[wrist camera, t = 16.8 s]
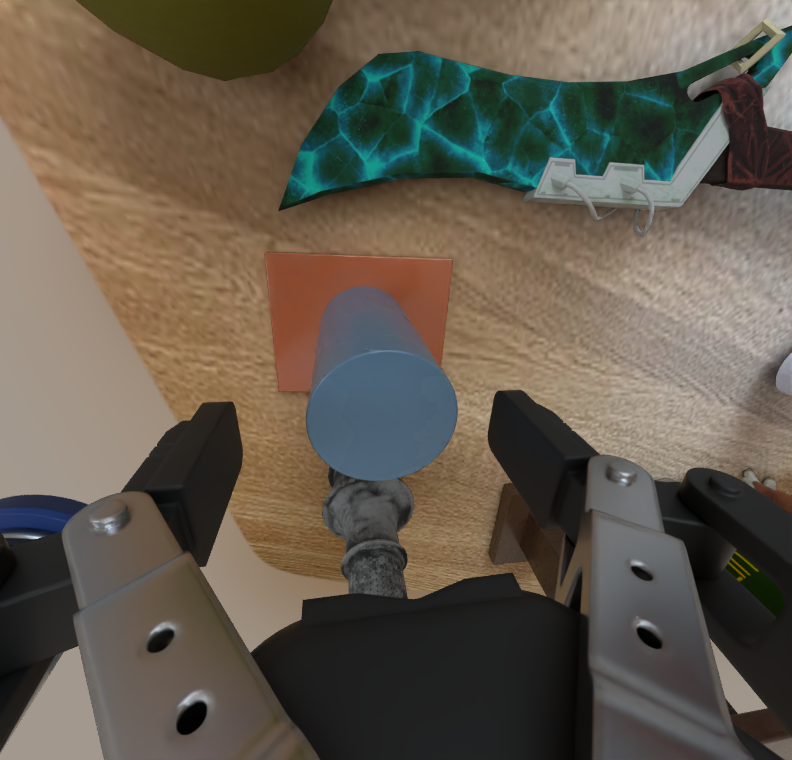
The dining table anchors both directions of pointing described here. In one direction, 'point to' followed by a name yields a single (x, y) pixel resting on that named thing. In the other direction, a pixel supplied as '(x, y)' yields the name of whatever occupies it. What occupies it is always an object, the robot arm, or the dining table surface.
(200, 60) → the apple
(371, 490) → the chess piece
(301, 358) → the tile
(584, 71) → the dining table surface
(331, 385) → the blue cylinder
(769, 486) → the bull figurine
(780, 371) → the perfume bottle
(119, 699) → the robot arm
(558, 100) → the knife
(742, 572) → the beer can
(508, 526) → the stand
